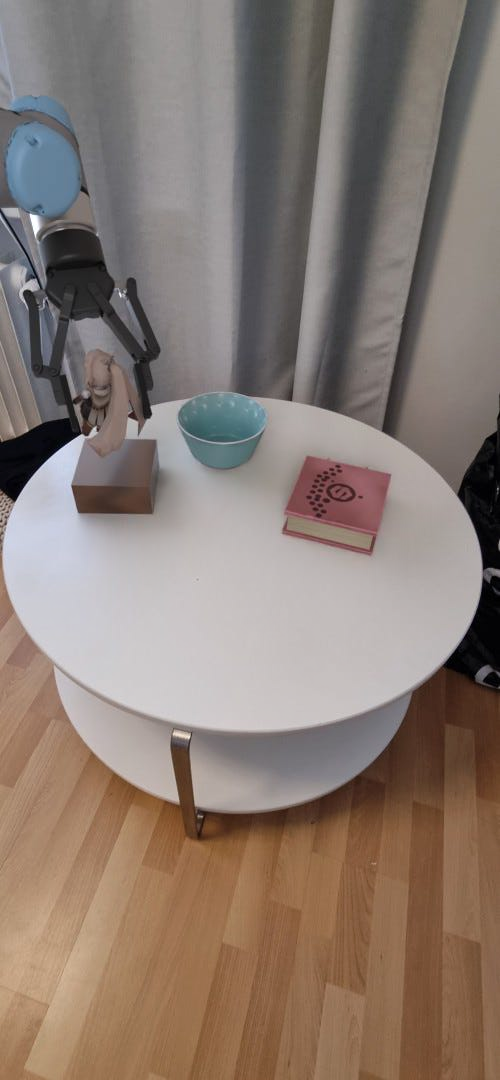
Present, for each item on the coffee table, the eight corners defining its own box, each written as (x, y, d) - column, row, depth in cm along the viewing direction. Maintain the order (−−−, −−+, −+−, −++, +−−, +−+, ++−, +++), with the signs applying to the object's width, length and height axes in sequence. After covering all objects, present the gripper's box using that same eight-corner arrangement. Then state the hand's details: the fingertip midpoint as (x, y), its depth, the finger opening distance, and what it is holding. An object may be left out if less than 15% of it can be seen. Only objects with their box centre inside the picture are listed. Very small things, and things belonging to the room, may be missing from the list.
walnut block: (77, 513, 94) (70, 485, 90) (90, 465, 103) (84, 437, 98) (152, 514, 95) (149, 486, 90) (159, 466, 103) (156, 439, 99)
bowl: (186, 424, 112) (184, 387, 106) (268, 431, 111) (270, 393, 105) (171, 478, 101) (168, 439, 95) (262, 485, 100) (264, 447, 94)
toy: (107, 406, 83) (117, 319, 71) (151, 442, 82) (168, 361, 70) (58, 436, 78) (59, 348, 66) (104, 475, 77) (114, 394, 65)
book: (386, 493, 100) (392, 470, 97) (371, 556, 90) (377, 533, 86) (304, 474, 103) (307, 452, 99) (281, 533, 93) (284, 510, 89)
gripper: (150, 246, 78) (189, 414, 80) (-18, 264, 72) (28, 444, 74) (156, 217, 71) (199, 402, 72) (-29, 234, 65) (21, 434, 67)
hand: (112, 423), depth 73 cm, fingers closed on toy, 8 cm apart
